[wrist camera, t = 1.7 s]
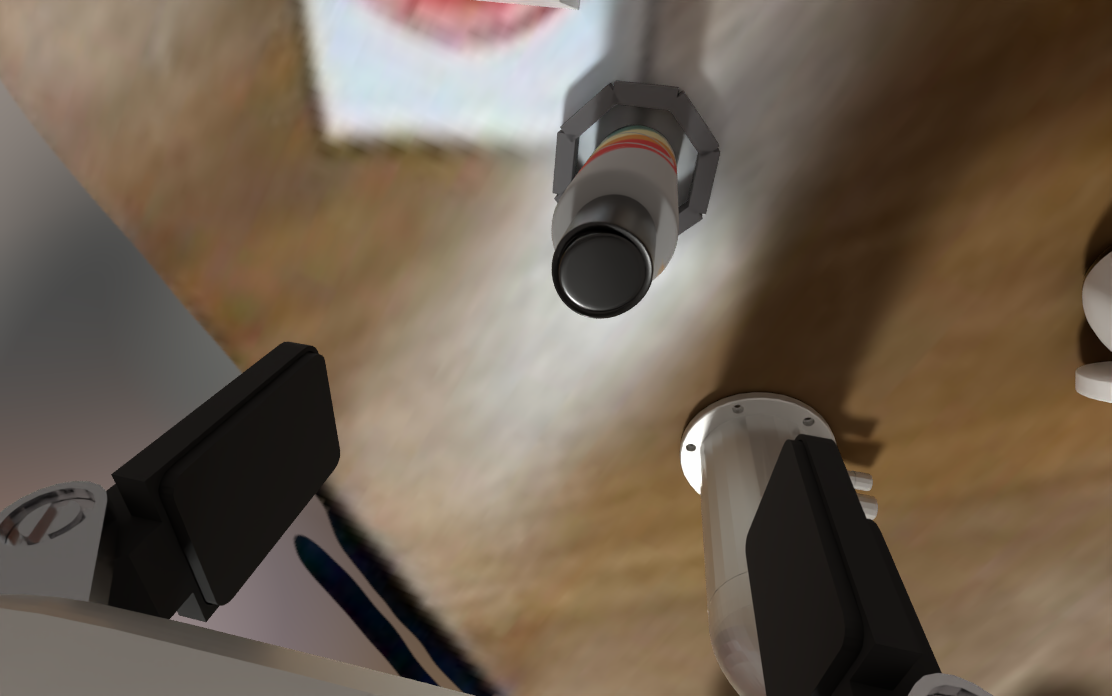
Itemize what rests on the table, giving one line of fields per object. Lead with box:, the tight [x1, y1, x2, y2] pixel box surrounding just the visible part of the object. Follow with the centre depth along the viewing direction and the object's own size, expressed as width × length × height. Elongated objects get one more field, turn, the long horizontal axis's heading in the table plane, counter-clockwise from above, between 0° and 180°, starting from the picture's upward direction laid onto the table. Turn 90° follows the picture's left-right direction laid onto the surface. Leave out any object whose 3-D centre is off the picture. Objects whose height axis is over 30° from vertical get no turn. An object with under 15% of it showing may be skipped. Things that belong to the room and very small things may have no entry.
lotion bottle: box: [552, 125, 679, 319], centre depth 28 cm, size 6×6×20 cm
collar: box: [553, 81, 720, 235], centre depth 35 cm, size 10×10×2 cm
